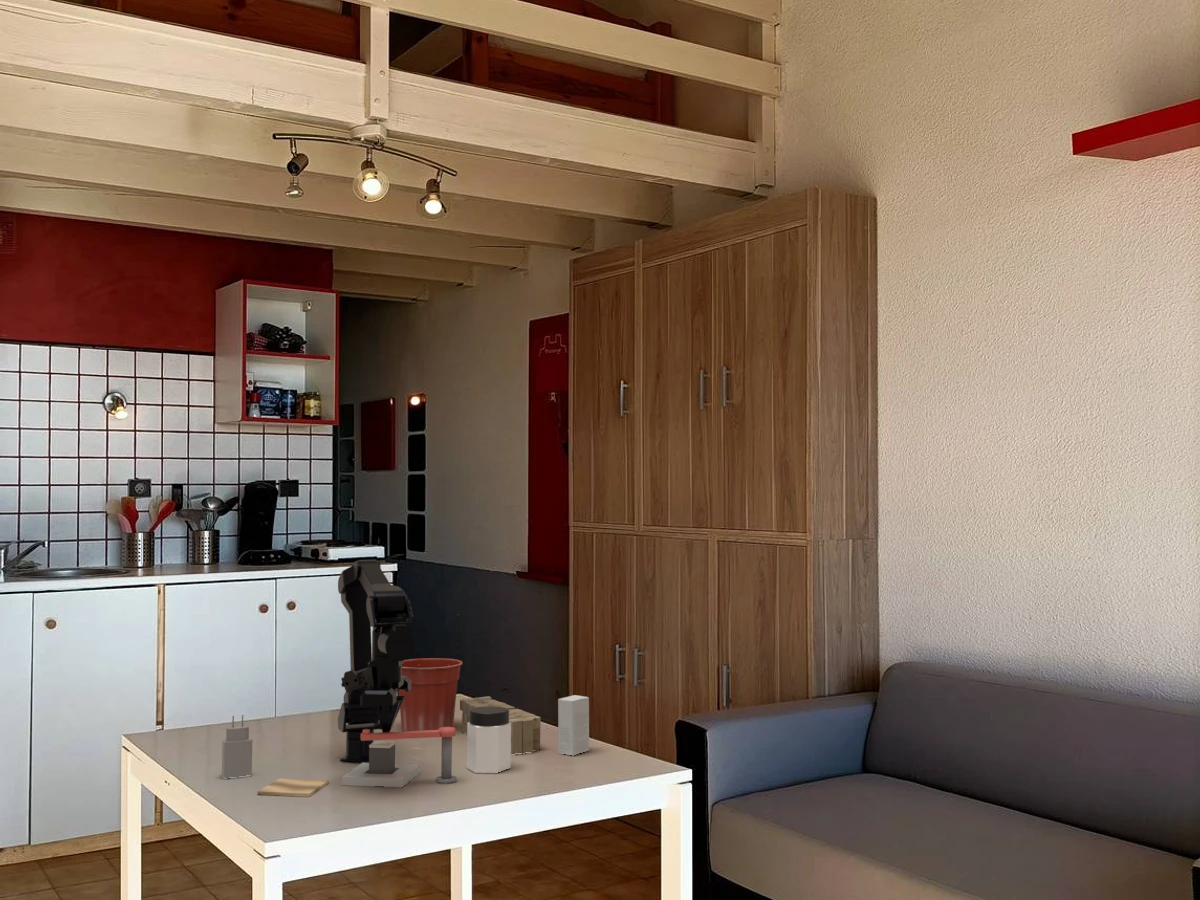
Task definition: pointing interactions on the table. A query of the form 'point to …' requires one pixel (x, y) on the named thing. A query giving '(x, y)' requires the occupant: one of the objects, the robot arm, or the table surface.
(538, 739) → the block tower
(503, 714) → the jar
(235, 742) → the power adapter
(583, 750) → the skincare box
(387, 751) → the plug
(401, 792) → the table surface
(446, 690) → the flower pot
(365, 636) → the robot arm
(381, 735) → the pink lever
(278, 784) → the wooden pad
